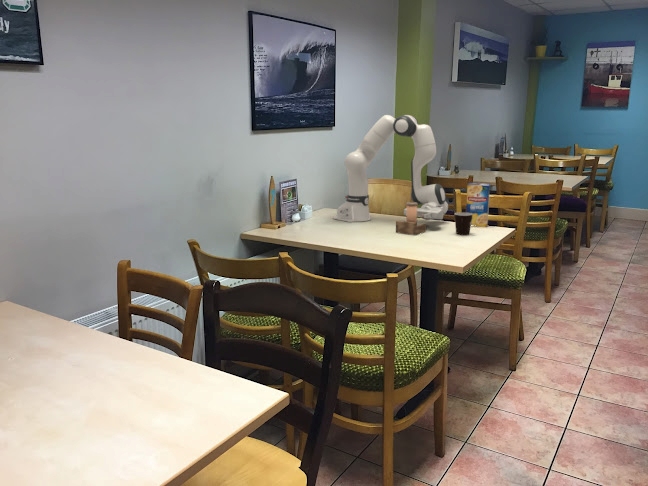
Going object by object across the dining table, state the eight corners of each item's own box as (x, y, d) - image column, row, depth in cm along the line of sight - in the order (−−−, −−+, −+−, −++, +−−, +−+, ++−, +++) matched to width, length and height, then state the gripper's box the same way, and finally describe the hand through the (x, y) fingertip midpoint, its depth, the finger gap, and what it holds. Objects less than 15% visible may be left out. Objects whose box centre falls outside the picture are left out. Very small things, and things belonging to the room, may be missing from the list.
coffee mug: (459, 231, 275) (460, 211, 272) (474, 233, 269) (475, 213, 266) (447, 235, 267) (447, 215, 265) (462, 237, 261) (463, 217, 259)
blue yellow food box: (487, 227, 283) (489, 185, 278) (465, 226, 287) (467, 184, 282) (487, 224, 290) (490, 183, 285) (466, 223, 293) (468, 183, 288)
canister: (403, 232, 275) (404, 203, 272) (409, 230, 279) (409, 201, 276) (413, 233, 272) (413, 204, 268) (418, 231, 276) (419, 202, 272)
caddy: (395, 232, 275) (395, 220, 273) (406, 229, 282) (406, 217, 281) (415, 235, 268) (415, 223, 266) (425, 231, 275) (425, 220, 274)
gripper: (411, 203, 293) (398, 207, 282) (446, 207, 280) (433, 211, 269) (411, 215, 294) (397, 219, 284) (445, 219, 281) (432, 223, 271)
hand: (415, 215), depth 276 cm, fingers open, 8 cm apart
